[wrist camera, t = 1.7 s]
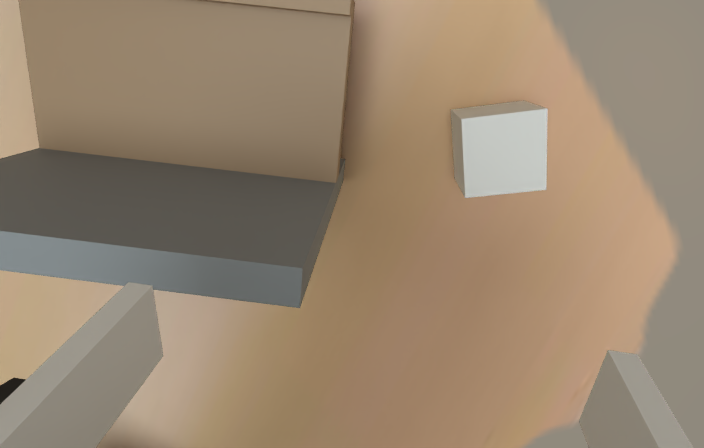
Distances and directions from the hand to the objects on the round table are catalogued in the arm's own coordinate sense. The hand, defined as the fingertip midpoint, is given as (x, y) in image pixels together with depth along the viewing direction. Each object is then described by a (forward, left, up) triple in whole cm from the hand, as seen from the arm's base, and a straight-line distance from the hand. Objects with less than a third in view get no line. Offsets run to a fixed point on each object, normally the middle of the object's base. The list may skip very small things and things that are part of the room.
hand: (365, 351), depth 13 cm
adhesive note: (+2, -9, -29) cm, 30 cm away
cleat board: (+4, +14, -29) cm, 32 cm away
